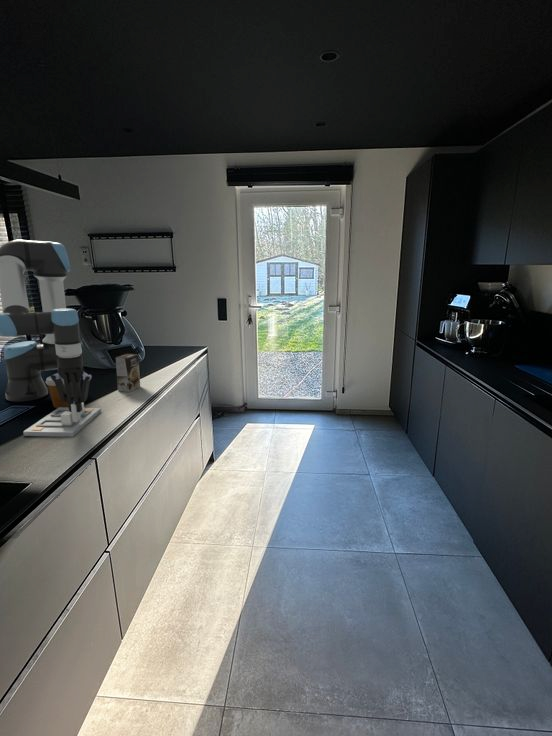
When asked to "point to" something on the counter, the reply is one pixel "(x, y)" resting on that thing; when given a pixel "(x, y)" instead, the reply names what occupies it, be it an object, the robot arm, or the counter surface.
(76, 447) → the counter surface
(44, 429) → the switch plate
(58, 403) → the disposable coffee cup
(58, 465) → the counter surface
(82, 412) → the tab
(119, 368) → the coffee box
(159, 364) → the counter surface
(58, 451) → the counter surface
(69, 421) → the tab
